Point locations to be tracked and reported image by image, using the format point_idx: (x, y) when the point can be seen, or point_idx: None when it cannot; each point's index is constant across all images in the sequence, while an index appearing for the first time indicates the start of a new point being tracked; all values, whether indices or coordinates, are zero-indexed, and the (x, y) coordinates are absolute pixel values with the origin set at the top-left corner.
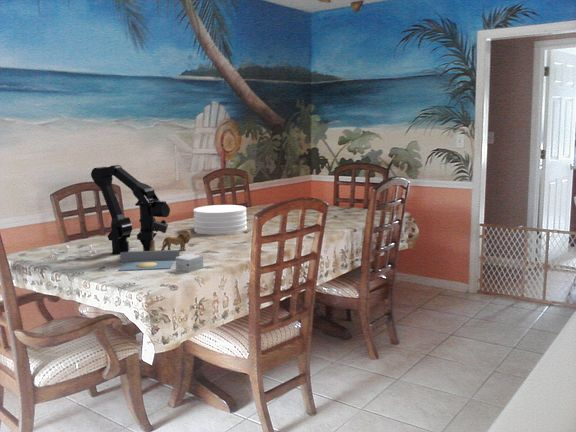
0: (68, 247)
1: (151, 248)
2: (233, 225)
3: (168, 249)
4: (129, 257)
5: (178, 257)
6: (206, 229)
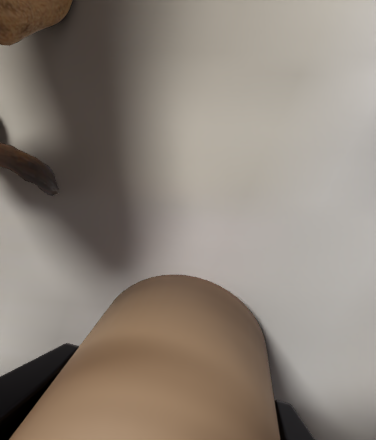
0: None
1: (276, 431)
2: None
3: (23, 32)
4: None
5: None
6: None
